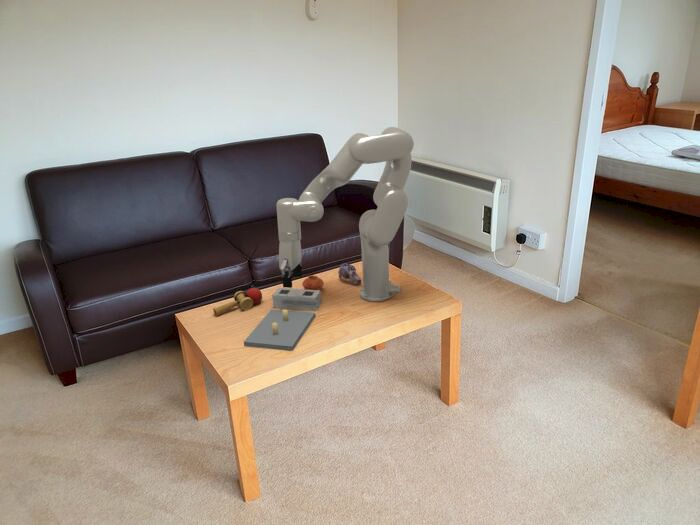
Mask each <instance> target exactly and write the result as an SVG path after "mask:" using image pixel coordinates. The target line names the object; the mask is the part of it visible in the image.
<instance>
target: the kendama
mask: <svg viewBox="0 0 700 525" xmlns="http://www.w3.org/2000/svg"><path fill="white" fill-rule="evenodd" d="M233 299H234V301H230V302H227V303H225V304H223V305H220V306H216V307H214V308H212V309H213V310H212V311H213V313H214V315H215V317H218V316H220V315H222V314H224V313H226V312H228V311H230V310H231V309H233V308H235V307H237V306H238V305H239V307H240V308H241V310H242V311H248V310H251V308H252V307H253V305H258V304H259V303H260V302H261V301H262V299H263V293H262V291H261V290H260V289H259V288H257V287H251V288H249V289H248V290H246V292H245V291H243V290H239V291H236V292H235V293H234V296H233Z"/></svg>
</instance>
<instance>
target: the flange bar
mask: <svg viewBox="0 0 700 525" xmlns="http://www.w3.org/2000/svg"><path fill="white" fill-rule="evenodd" d="M271 296H272V297H271V298H272V299H271V300H272V306H273V308H274V309H287V310H297V311H298V310H299V311H310V312H311V311H312V312H313V311H314V312H317V310H319V308H320V306H321V305H322V292H321V290H320V289H319V290H305V289H304V288H302V289H301V288H287V287H278V288H277V289H276V290H274V292H273V294H271Z"/></svg>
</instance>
